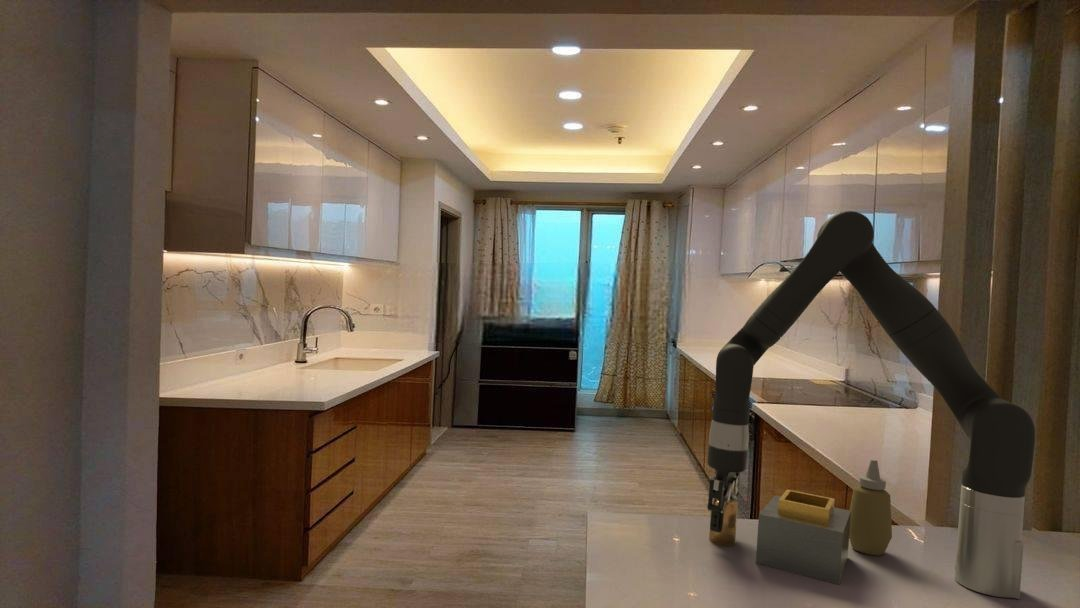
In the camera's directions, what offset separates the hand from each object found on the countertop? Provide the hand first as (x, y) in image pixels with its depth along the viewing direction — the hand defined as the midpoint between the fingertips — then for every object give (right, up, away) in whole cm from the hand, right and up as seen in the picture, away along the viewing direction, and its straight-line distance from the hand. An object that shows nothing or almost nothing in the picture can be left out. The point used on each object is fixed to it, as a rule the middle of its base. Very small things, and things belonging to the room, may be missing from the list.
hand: (721, 525), depth 128 cm
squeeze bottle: (+29, -5, 0) cm, 30 cm away
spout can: (0, -3, 0) cm, 3 cm away
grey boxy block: (+13, -4, -7) cm, 16 cm away
